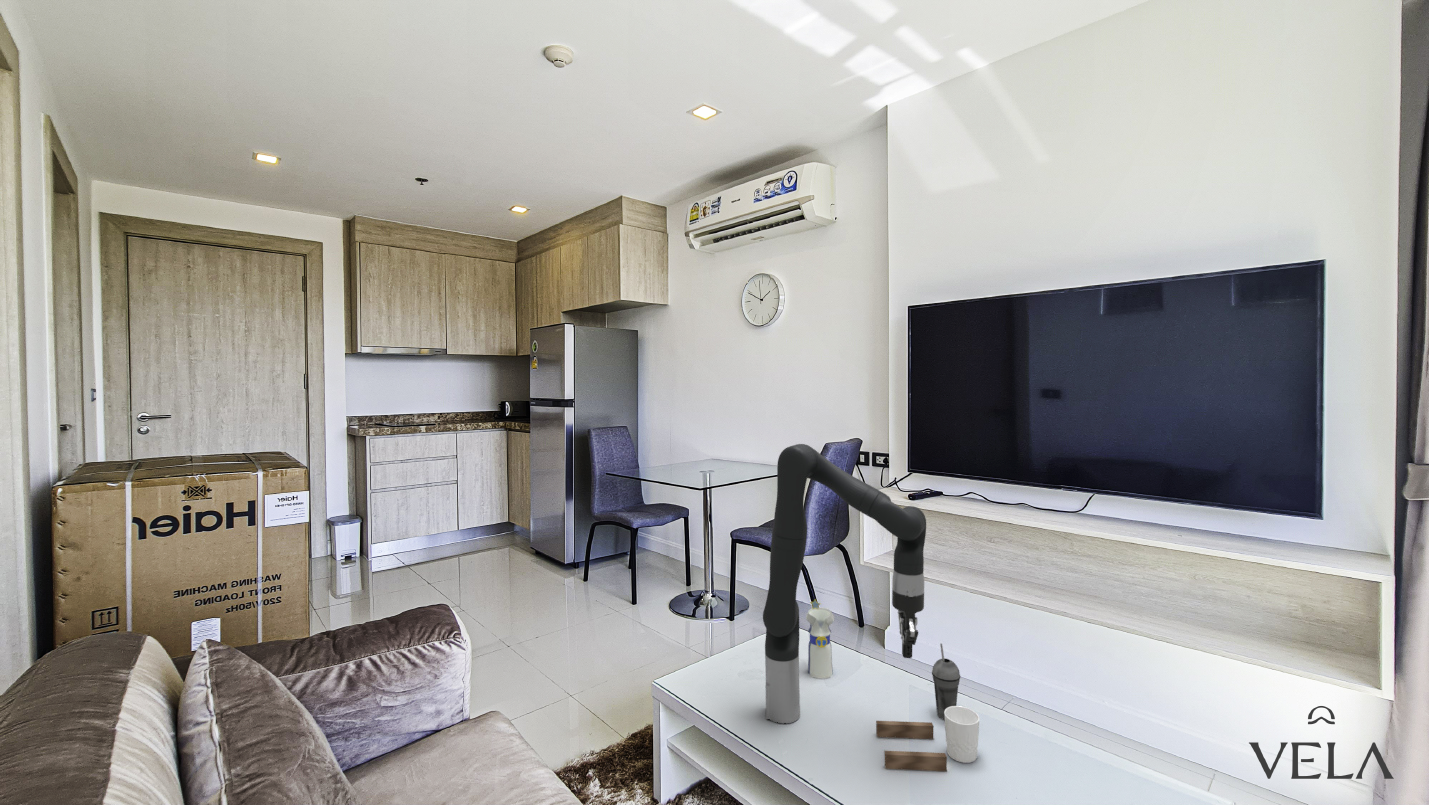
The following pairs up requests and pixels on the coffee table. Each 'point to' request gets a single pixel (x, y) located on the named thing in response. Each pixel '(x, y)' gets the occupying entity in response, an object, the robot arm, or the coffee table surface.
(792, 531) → the robot arm
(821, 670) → the white and blue figurine
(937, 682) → the beverage cup
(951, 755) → the white cup
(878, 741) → the coffee table surface
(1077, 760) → the coffee table surface
